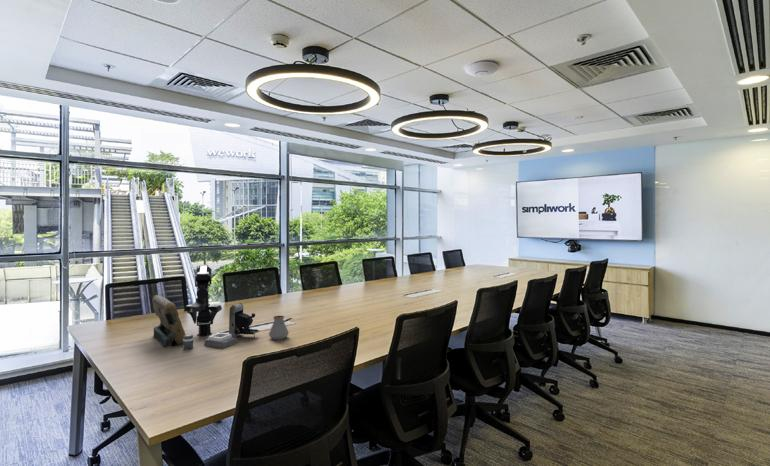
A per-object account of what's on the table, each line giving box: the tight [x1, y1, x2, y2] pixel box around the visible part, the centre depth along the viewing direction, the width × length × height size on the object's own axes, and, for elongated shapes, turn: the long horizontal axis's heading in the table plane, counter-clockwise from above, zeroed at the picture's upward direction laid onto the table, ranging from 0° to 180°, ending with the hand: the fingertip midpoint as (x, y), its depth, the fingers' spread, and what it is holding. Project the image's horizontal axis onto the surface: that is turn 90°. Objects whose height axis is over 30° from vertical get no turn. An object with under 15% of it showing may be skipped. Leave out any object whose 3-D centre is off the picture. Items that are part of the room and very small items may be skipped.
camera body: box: [203, 332, 238, 349], centre depth 224 cm, size 14×10×5 cm
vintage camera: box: [228, 302, 261, 339], centre depth 237 cm, size 10×15×20 cm, turn 79°
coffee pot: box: [268, 315, 294, 341], centre depth 233 cm, size 21×12×15 cm, turn 42°
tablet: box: [151, 294, 187, 348], centre depth 231 cm, size 33×14×25 cm, turn 47°
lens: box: [182, 334, 194, 351], centre depth 216 cm, size 5×5×7 cm
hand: (203, 323), depth 220 cm, fingers open, 9 cm apart
